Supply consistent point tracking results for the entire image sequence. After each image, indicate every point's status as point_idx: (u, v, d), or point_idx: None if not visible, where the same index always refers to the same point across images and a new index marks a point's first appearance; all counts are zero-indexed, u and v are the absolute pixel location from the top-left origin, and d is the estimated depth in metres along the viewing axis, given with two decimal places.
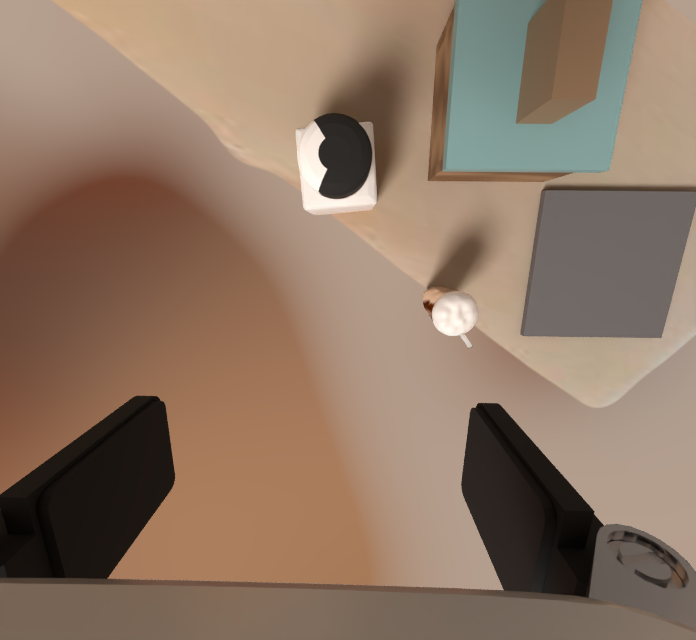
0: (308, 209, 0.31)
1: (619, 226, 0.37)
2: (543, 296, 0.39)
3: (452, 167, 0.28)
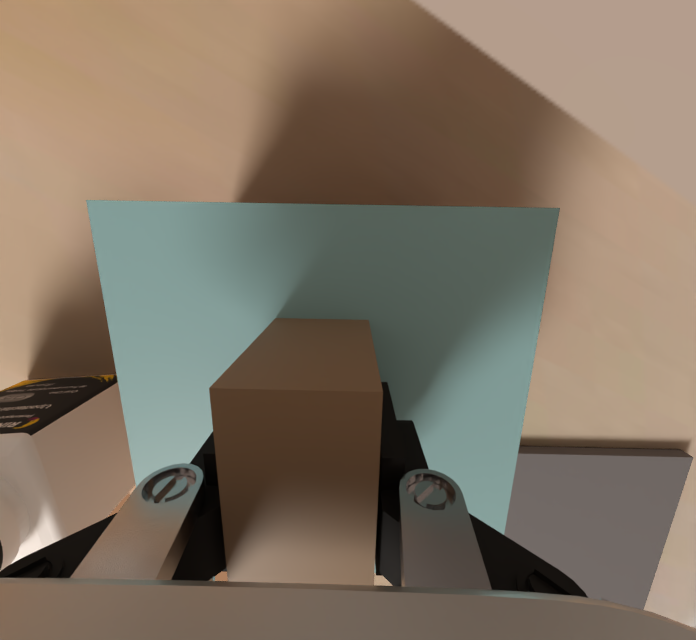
0: None
1: (559, 502, 0.22)
2: None
3: None
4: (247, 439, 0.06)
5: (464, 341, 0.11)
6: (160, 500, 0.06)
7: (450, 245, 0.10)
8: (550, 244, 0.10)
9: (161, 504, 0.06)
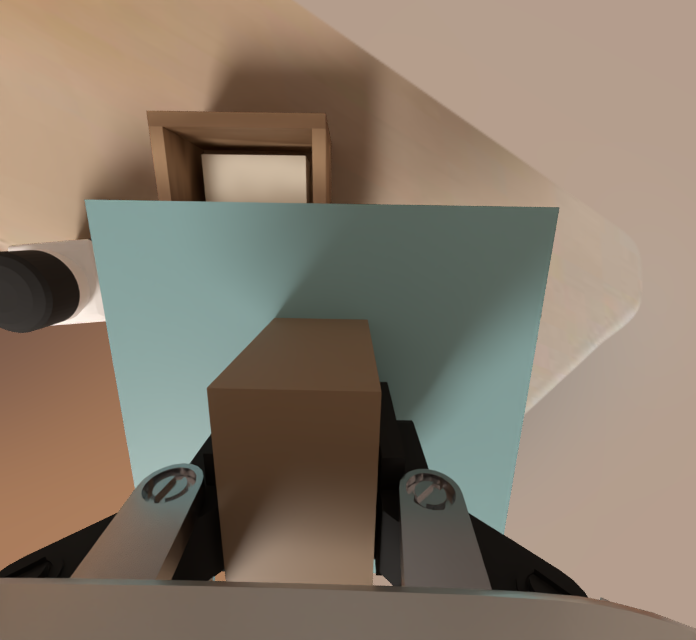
0: None
1: None
2: None
3: None
4: (245, 439, 0.06)
5: (463, 341, 0.10)
6: (160, 500, 0.06)
7: (450, 245, 0.10)
8: (550, 243, 0.10)
9: (161, 504, 0.06)
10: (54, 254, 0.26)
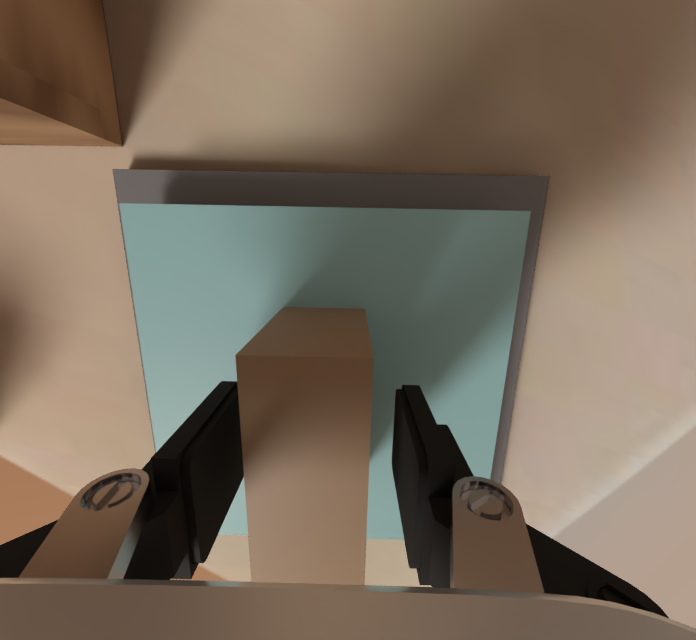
0: None
1: None
2: None
3: None
4: (265, 398, 0.07)
5: (449, 328, 0.12)
6: (103, 507, 0.06)
7: (436, 243, 0.11)
8: (523, 242, 0.11)
9: (105, 510, 0.06)
10: None
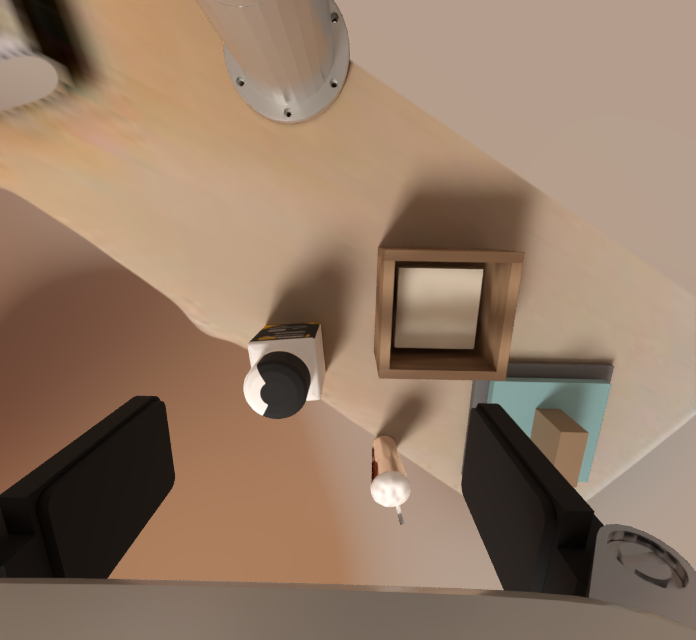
0: None
1: None
2: None
3: None
4: (565, 440, 0.35)
5: (584, 414, 0.40)
6: None
7: (583, 391, 0.39)
8: (608, 391, 0.39)
9: None
10: (294, 353, 0.32)
